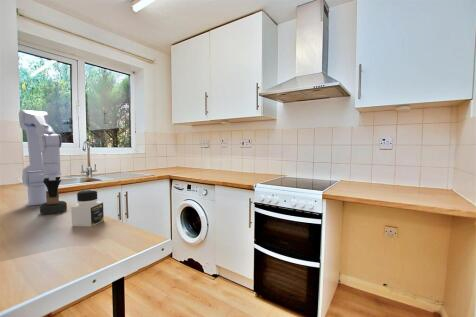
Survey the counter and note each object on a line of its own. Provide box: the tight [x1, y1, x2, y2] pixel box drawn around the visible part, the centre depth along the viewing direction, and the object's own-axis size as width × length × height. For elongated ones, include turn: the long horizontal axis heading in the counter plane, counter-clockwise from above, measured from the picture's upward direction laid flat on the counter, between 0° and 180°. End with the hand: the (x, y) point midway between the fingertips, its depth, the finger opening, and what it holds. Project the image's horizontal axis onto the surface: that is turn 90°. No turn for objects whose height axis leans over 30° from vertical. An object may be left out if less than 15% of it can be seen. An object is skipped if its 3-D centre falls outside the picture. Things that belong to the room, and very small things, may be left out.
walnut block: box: [46, 190, 60, 205], centre depth 97 cm, size 4×4×5 cm
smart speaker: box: [39, 200, 68, 216], centre depth 98 cm, size 9×9×4 cm
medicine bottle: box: [70, 189, 105, 228], centre depth 83 cm, size 7×7×12 cm
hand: (53, 195), depth 97 cm, fingers open, 7 cm apart
